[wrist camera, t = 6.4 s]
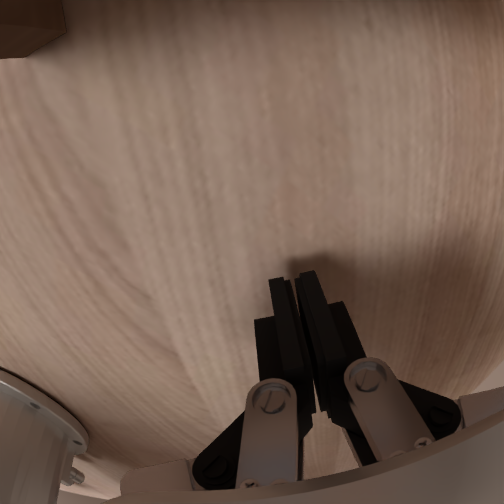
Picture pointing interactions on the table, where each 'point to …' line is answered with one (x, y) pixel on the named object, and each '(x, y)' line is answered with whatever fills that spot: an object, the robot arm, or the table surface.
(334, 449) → the table surface
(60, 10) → the bridge
